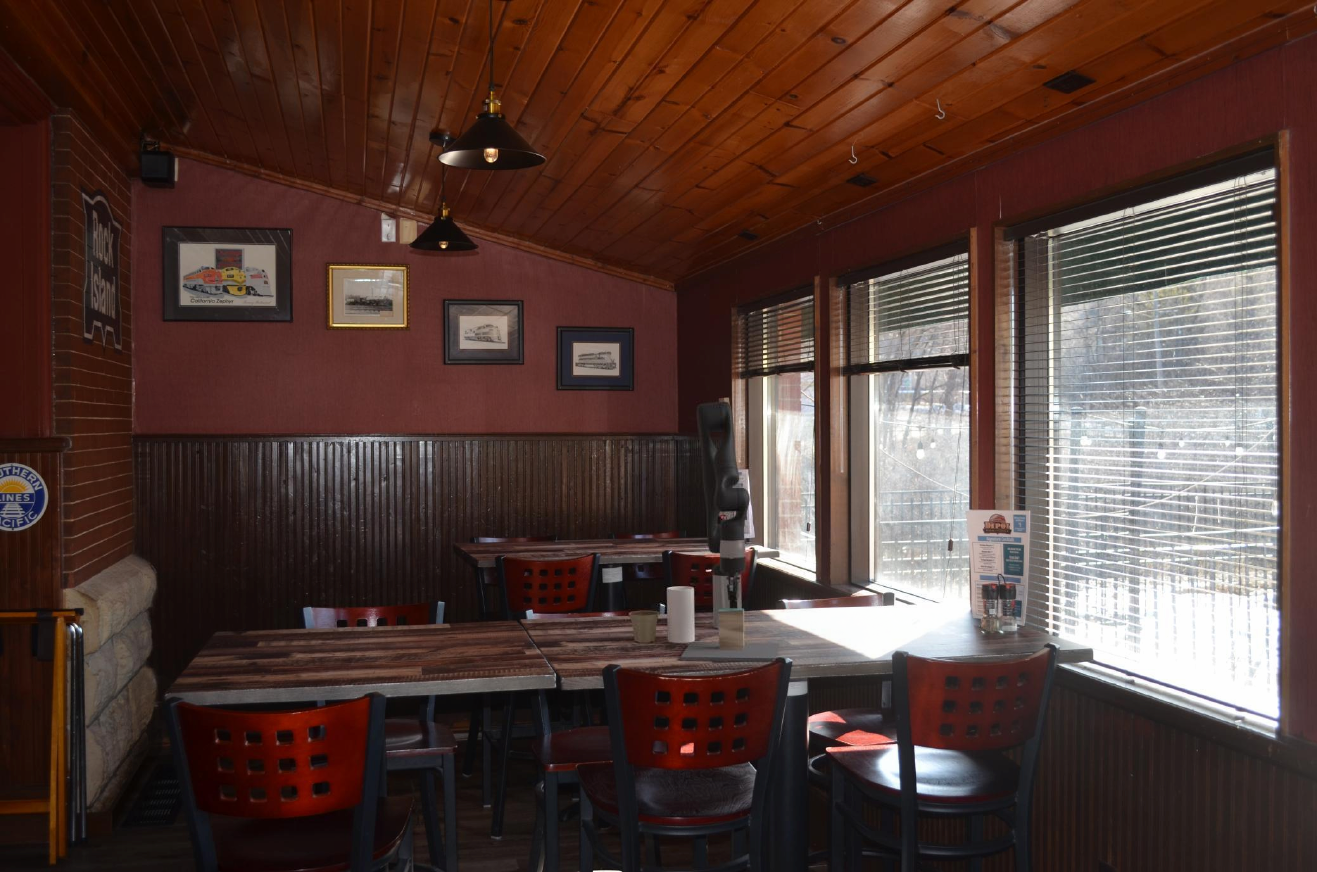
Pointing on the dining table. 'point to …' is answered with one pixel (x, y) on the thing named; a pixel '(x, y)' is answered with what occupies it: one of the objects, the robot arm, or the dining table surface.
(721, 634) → the block
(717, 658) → the mat
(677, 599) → the white cylinder
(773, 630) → the dining table surface
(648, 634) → the flower pot
